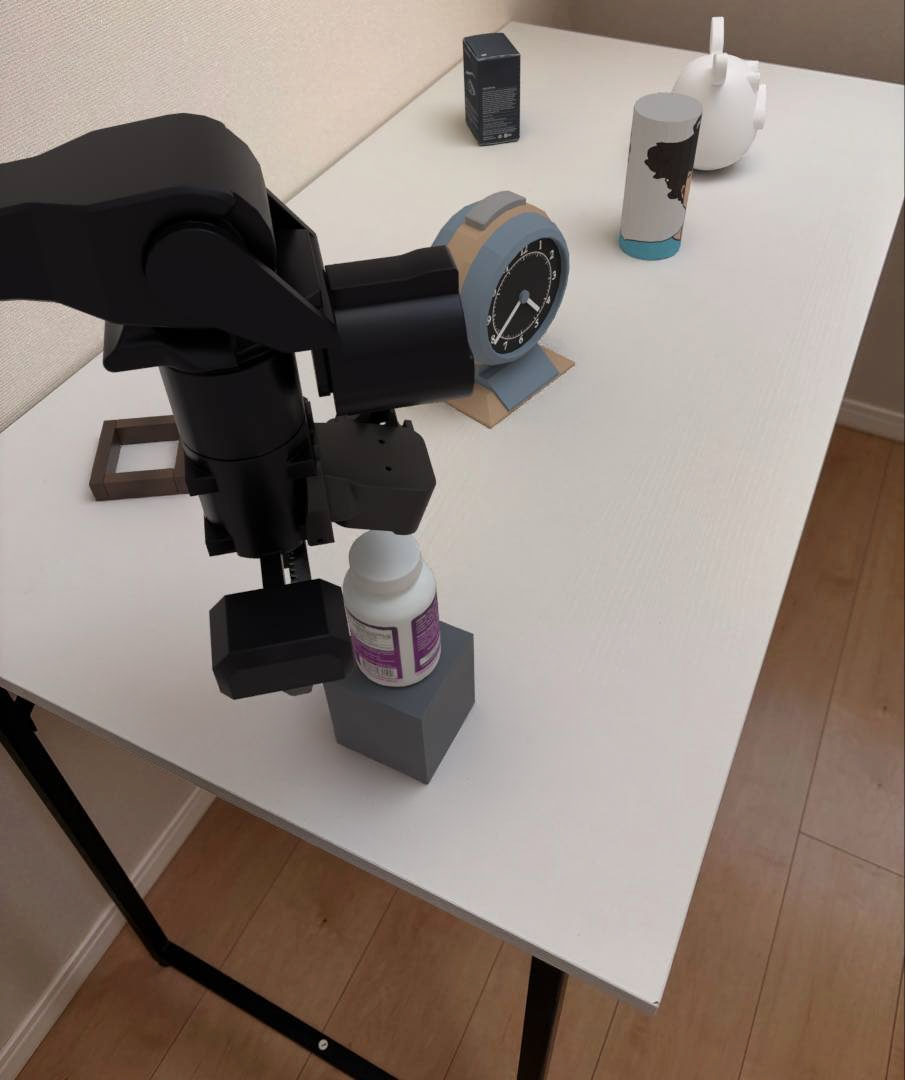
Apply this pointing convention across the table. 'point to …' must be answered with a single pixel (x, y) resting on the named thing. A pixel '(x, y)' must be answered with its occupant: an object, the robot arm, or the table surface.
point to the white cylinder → (659, 174)
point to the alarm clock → (507, 299)
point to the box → (492, 88)
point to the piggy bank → (723, 102)
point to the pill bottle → (392, 608)
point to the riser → (407, 710)
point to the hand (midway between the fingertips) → (292, 625)
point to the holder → (136, 482)
